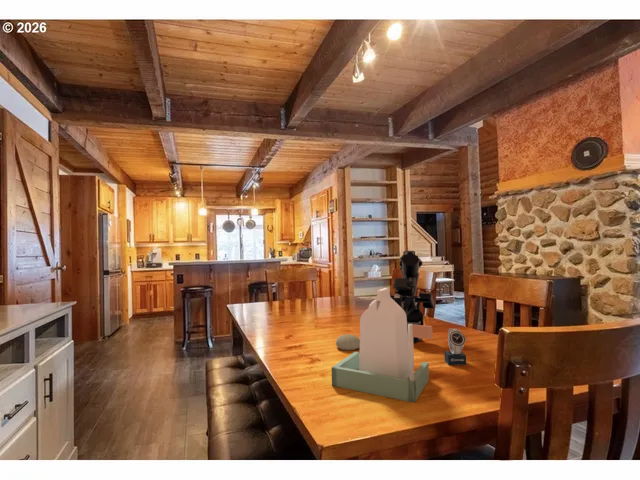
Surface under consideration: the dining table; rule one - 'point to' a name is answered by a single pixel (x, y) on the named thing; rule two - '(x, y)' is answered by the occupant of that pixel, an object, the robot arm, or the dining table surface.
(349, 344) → the sea urchin shell
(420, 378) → the corral
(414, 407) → the dining table surface
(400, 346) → the milk
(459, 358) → the watch
